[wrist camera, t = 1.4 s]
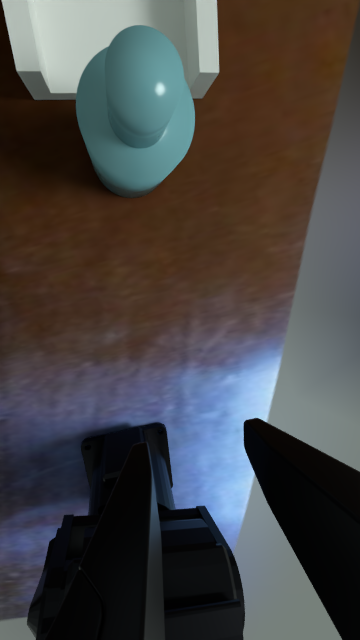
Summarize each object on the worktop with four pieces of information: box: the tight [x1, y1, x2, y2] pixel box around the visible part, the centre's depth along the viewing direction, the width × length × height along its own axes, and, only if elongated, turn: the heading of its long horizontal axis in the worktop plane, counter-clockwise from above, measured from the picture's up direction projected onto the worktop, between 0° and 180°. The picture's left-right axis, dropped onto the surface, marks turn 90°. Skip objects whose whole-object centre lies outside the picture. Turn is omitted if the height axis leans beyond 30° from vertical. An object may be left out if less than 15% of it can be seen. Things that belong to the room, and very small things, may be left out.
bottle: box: [76, 25, 195, 198], centre depth 13 cm, size 4×4×10 cm
